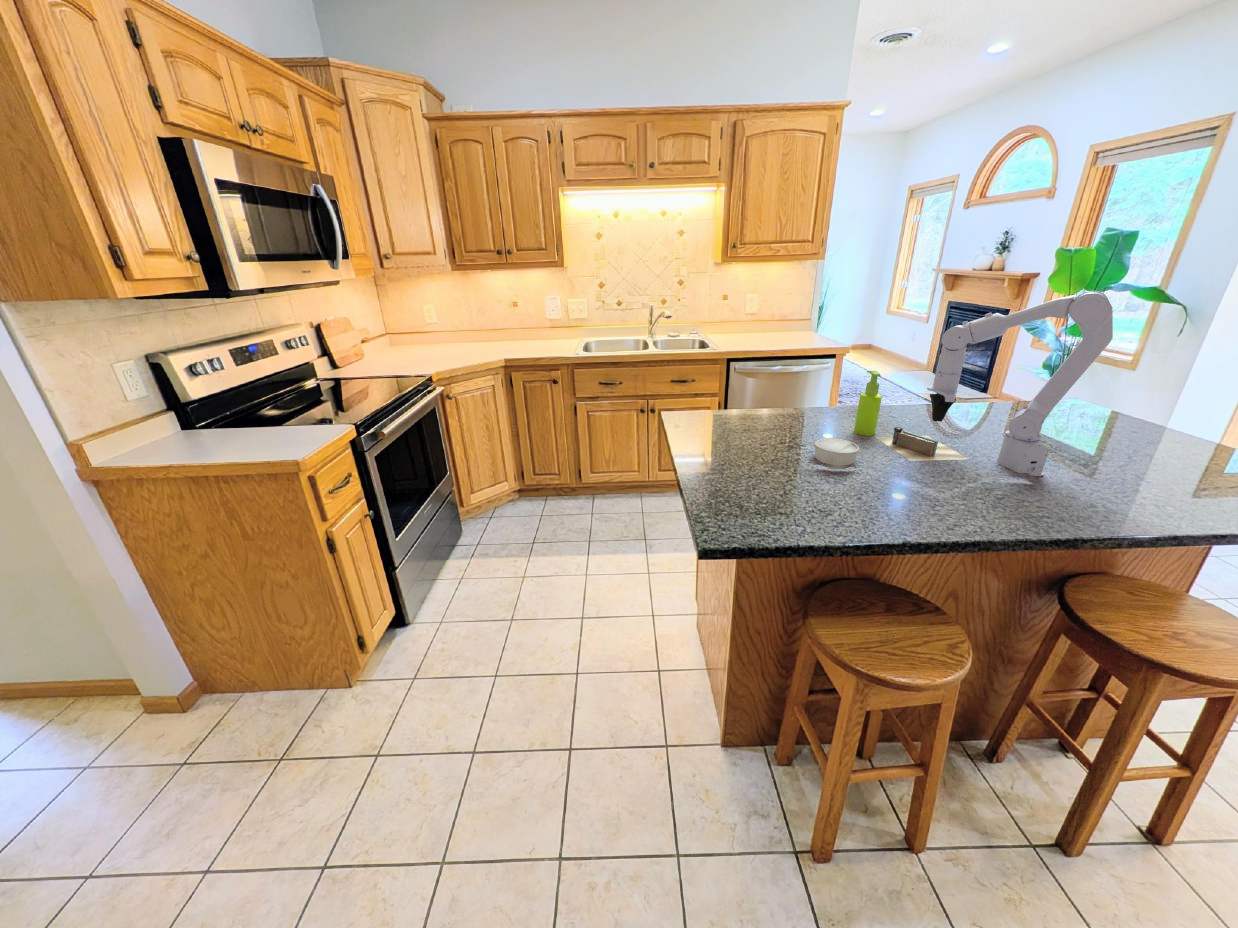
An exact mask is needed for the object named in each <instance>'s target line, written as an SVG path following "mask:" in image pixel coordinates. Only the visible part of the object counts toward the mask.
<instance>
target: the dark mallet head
mask: <svg viewBox="0 0 1238 928" xmlns="http://www.w3.org/2000/svg"><path fill="white" fill-rule="evenodd" d="M893 430H894V431H893V436H892V437H893V440H892V444H894V445H896V446H898V447H901V448H904V449H907V450H910V451H913V452H916V453H919V454H922V455H925V456H928V457H931V456H932V453H933V449H934V444H935V442H931V441H928V440H925V439H921V438H918V437H915V436H912V435H908V434H905V433H903V431H904V430H903V428H902V427H899V426H895V427H894V428H893Z"/></svg>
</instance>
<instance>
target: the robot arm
mask: <svg viewBox="0 0 1238 928" xmlns="http://www.w3.org/2000/svg"><path fill="white" fill-rule="evenodd" d="M1113 312H1114V311H1113V306H1112V303H1111V302H1110V300H1109V298H1108V297H1107V295H1106V294H1105V293H1103V292H1101V291H1099V290H1088V291H1085V292H1083V293H1080V294H1079V295H1078V294H1072V295H1068V296H1063V297H1058V298H1054V299H1051V300H1048V301H1046V302H1043V303H1039V304H1036V305H1033V306H1030V307H1027V308H1025V309H1021V310H1019V311H1015V312H1012V313H1010V314H1008V315H1007V314H1006V315H1004V314H1001V313H998V312H996V313H992V312H988V313H986V314H984V317H980V318H976V319H974V320H971V321H968V320H966V321H962V323H961V324H962V325H961V324H959V325H958V324H957V325H954V326H952V327H950V328H949V329H947V330H946V331H944V333H943V334H942V336H941V343H942V346H941V349H940V354H939V355H938V357H939V358H938V361H937V366H936V369H935V375H934V378H933V384H932V386H927V388H926V390H927V391H930V392H931V391H932V392H934V393H929V397H930V401H931V402H930V403H931V418H932V421H933V422H943V420H944V419H945V417H946V415H947V413H948V411H949V409H950V408H951V407H952V405H953V404H954V403H955V402H956V401H957V399H956V396H957V394H958V392H959V389H958V387H959V383H960V379H961V375H962V372H963V367H964V363H965V359H966V352H967V345H968V344H978V343H982V342H985V341H987V340H991V339H994V338H998V337H1002V336H1004V335H1005V333H1006V332H1007V331H1008V329H1010V328H1013V327H1018V326H1021V325H1024V324H1028V323H1032V322H1035V321H1038V320H1043V319H1046V318H1057V319H1063V320H1064V319H1066V318H1067V316H1068V315H1069V317H1070V319H1071V320H1072V321H1073V322H1074V323H1075V324H1076V325H1077V326H1078V327H1079V331H1080V332H1079V333H1080V335H1081V338H1082V339H1081V340H1080V342H1079V343H1078V344H1077V345H1076V347H1075V348H1074V349H1072V351H1071V353H1069V355H1068V356H1067V357H1066V358H1065V360H1064V361H1063V362H1062V363H1061V365H1060V366H1059V367H1058V368H1057V370H1056V371H1055V372H1054V373H1053V375H1051V376H1050V377H1049V379H1048V380H1047V381H1046V383H1045V384H1044V385H1043V386H1042V387H1041V389H1040V390H1039V391H1038V392H1037V394H1036V395H1035V396H1034V397H1032V399H1031V400H1030V401H1029V403H1028V404H1027V405H1025V406H1024V407H1022V408H1019V409H1018V410H1017V411H1015V413H1014V415H1013V417H1012V419H1011V420H1010V422H1009V424H1008V430H1006V431H1005V432H1004V437H1003V440H1002V444H1001V446H1000V450H999V453H998V457H997V459H996V460H997V461H996V463H997V464H999V466H1002V467H1005V468H1007V469H1009V470H1012V471H1014V472H1015V473H1018V474H1029V475H1030V476H1031V477H1044V476H1045V473H1043V470H1044V467H1045V464H1046V462H1047V461H1046V460H1047V459H1048V455H1049V449H1048V447H1047V446H1046V445H1044V443H1043V442H1042V440H1041V439H1042V435H1041V434H1040V433H1041V432H1042V428H1043V424H1044V422H1045V420H1046V419H1047V417H1049V415H1050V413H1051V412H1052V411H1053V410H1054V409H1055V407H1056V405H1057V404H1058V403H1059V402H1060V401H1061V400H1062V399H1063V397H1064V396H1065V395H1067V393H1068V392H1069V391H1070V389H1071V388H1072V387H1073V386H1074V385H1075V384H1076V383H1077V381H1078V380H1079V379H1080V378H1081V377H1082V376H1083V375H1084V373H1085V372H1086V371H1087V370H1088V369H1089V367H1091V365H1092V364H1093V363H1094V362H1095V361H1096V359H1097V358H1098V357H1099V356H1100V355H1101V353H1103V351H1104V350H1105V349H1106V348H1107V347H1108V346H1109V345H1110V343H1111V342H1112V340H1113V338H1114V337H1113V335H1114V334H1113V333H1114V331H1113V326H1114V325H1113V324H1114V323H1113V314H1114V313H1113Z"/></svg>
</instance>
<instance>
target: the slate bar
mask: <svg viewBox="0 0 1238 928" xmlns="http://www.w3.org/2000/svg"><path fill="white" fill-rule="evenodd" d="M902 433H905V434H908V435H912V436H915V437H918V438H921V439H925V440H928V441H931V442H935V444H934V449H933V453H932V455H935V453H936V449H937V445H938V442H939V440H936V439H934V438H932V439H930V438H931V437H930V438H926V437H923V436H924V435H920V434H916V433H914V432H910V431H907V430H902ZM933 439H934V440H933Z"/></svg>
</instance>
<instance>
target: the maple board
mask: <svg viewBox="0 0 1238 928" xmlns="http://www.w3.org/2000/svg"><path fill="white" fill-rule="evenodd" d="M922 436H923V437H926V438H930V439H933V440H935V439H934V438H932V437H931V436H929V435H922ZM874 438H876V439H877V440H878V441H880V442H881V443H882V444H883V445H886V446H887V447H888V448H890V449H892V450H893V451H894V452H896V453H897V454H899V455H901V456H902V457H903V458H905V459H906V460H908V461H909V462H917V461H919V462H920V461H921V462H923V461H927V462H929V461H961V460H962V461H963V460H965V461H966V460H970V458H969V457H966V456H964V455H963V454H961V453H959V452H957V451H956V450H953V449H952V448H950V447H948V446H947V445H945V444H942V442H940V441H938V445H937V449H936V453H935V455H932V456H931V457H928V456H925V455H922V454H919V453H916V452H913V451H910V450H907V449H904V448H901V447H898V446H896V445H894V444H892V440H893V436H875V437H874Z"/></svg>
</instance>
